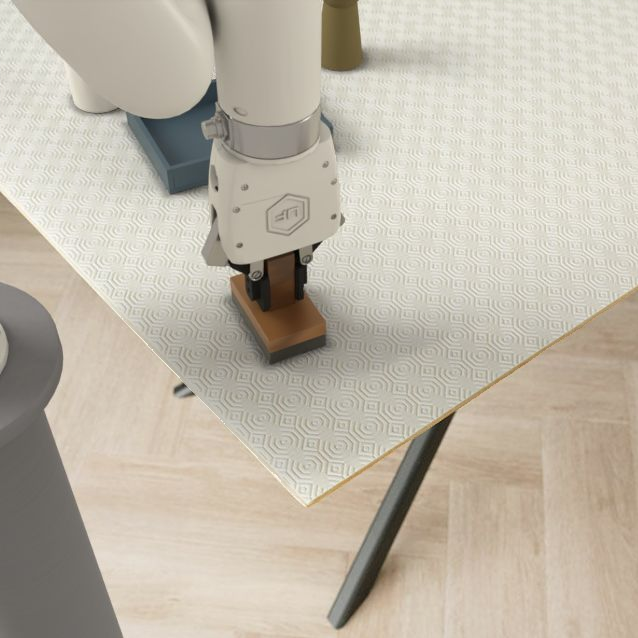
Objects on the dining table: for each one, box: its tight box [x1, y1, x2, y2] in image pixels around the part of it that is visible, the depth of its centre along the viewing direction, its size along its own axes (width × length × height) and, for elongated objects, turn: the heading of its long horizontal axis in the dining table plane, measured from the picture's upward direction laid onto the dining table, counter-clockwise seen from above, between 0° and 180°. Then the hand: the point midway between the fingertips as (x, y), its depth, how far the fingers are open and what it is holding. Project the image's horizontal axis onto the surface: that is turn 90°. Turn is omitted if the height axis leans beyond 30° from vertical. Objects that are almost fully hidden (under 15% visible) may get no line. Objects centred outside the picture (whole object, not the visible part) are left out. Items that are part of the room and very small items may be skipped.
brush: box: [229, 251, 327, 365], centre depth 81 cm, size 6×9×9 cm, turn 27°
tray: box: [125, 78, 334, 195], centre depth 102 cm, size 19×14×3 cm
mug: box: [62, 59, 120, 114], centre depth 104 cm, size 10×7×12 cm, turn 32°
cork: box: [321, 0, 364, 72], centre depth 111 cm, size 6×6×11 cm
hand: (276, 294), depth 81 cm, fingers closed on brush, 2 cm apart
